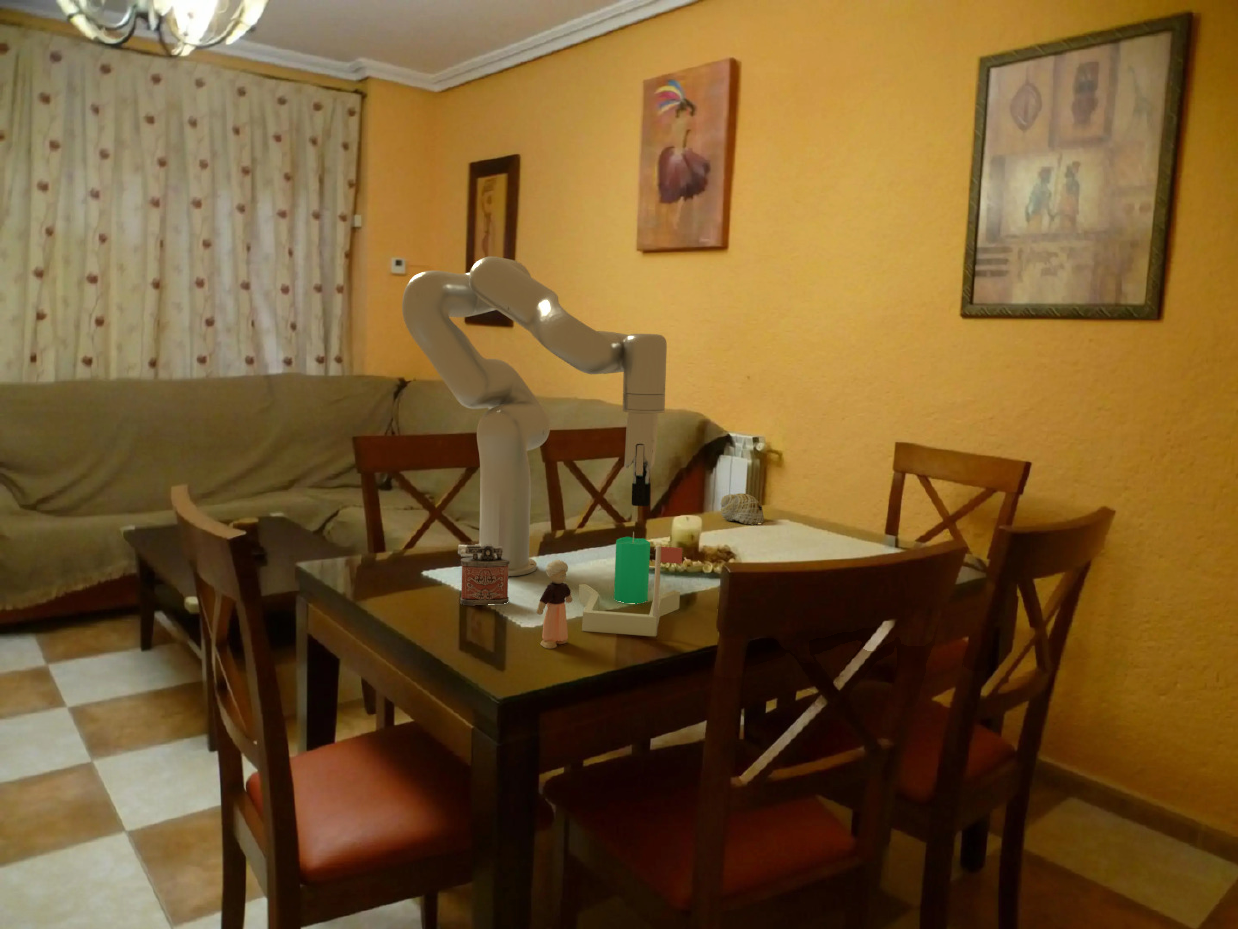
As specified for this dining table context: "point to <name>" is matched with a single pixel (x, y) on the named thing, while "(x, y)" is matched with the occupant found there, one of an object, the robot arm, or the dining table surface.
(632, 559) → the candle
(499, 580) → the lighter
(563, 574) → the grandmother figurine
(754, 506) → the seashell
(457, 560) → the dining table surface
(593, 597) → the white tray with post
